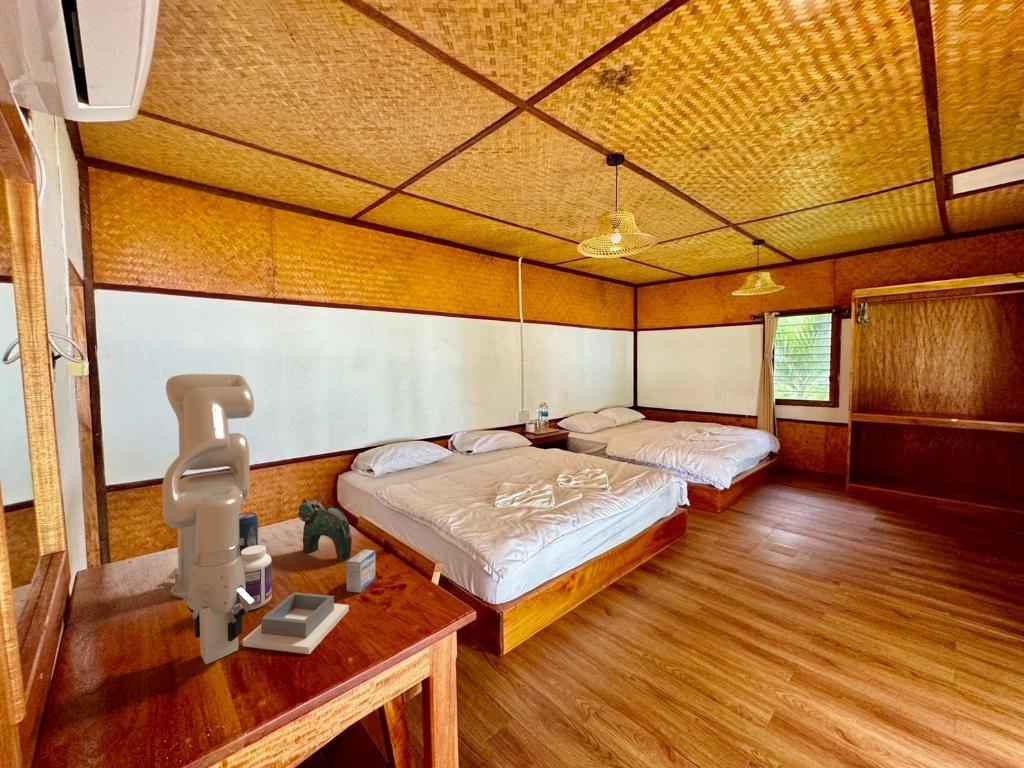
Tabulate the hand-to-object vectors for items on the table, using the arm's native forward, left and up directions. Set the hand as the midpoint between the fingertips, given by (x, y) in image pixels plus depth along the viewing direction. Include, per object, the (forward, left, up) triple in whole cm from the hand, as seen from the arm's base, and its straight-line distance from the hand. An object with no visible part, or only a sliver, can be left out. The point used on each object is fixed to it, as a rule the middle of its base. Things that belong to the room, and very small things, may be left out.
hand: (219, 634), depth 87 cm
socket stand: (+11, +11, -4) cm, 16 cm away
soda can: (-33, +45, -4) cm, 56 cm away
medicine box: (+16, +31, -5) cm, 35 cm away
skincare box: (0, 0, -4) cm, 4 cm away
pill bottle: (-7, +18, -4) cm, 20 cm away
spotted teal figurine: (-5, +47, -5) cm, 47 cm away
